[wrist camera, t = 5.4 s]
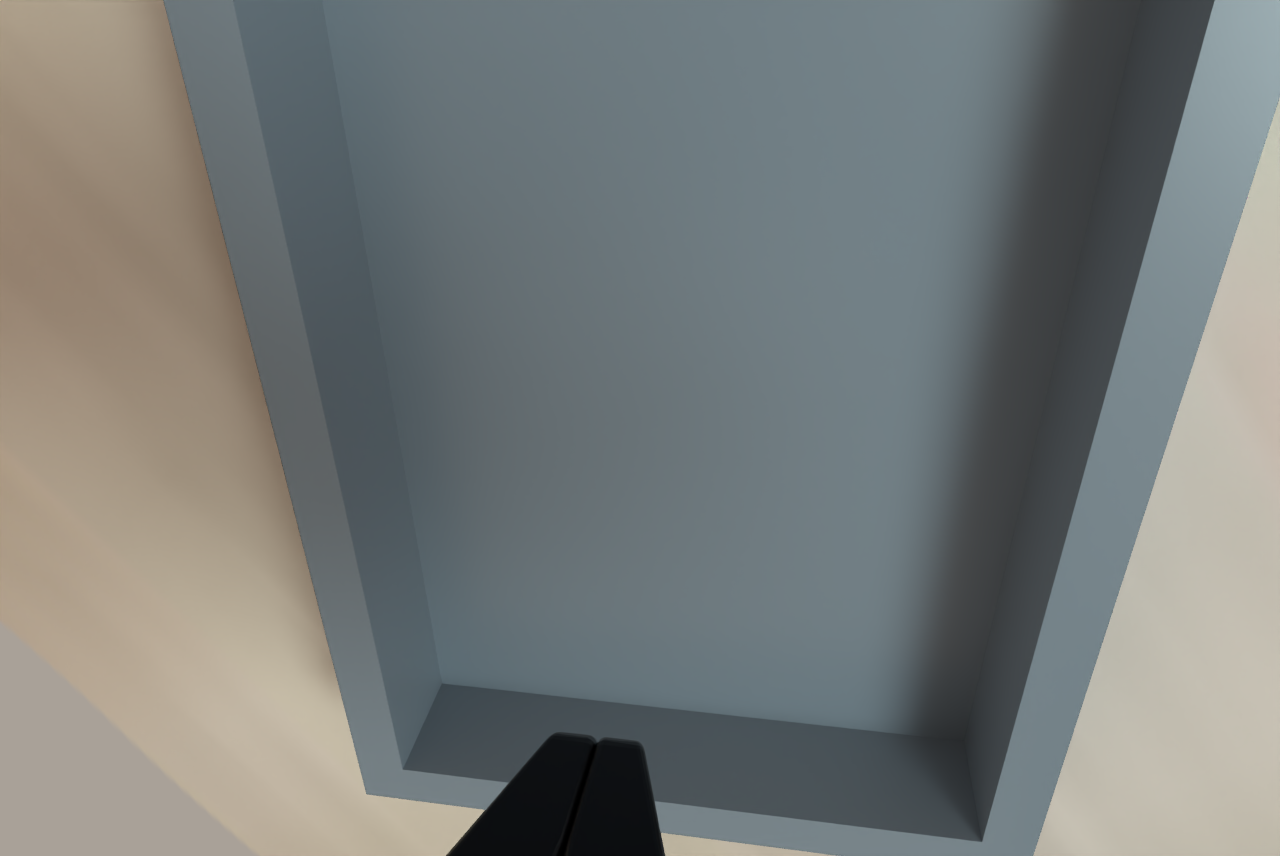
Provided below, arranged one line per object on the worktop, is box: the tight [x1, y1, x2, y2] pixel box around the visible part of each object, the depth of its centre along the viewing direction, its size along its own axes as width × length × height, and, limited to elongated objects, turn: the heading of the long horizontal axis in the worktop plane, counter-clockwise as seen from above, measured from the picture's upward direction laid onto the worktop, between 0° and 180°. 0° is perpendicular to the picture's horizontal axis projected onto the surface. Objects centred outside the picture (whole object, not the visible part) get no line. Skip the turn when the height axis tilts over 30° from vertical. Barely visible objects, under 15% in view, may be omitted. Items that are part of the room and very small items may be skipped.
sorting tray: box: [163, 0, 1280, 856], centre depth 15 cm, size 21×14×3 cm, turn 1°
